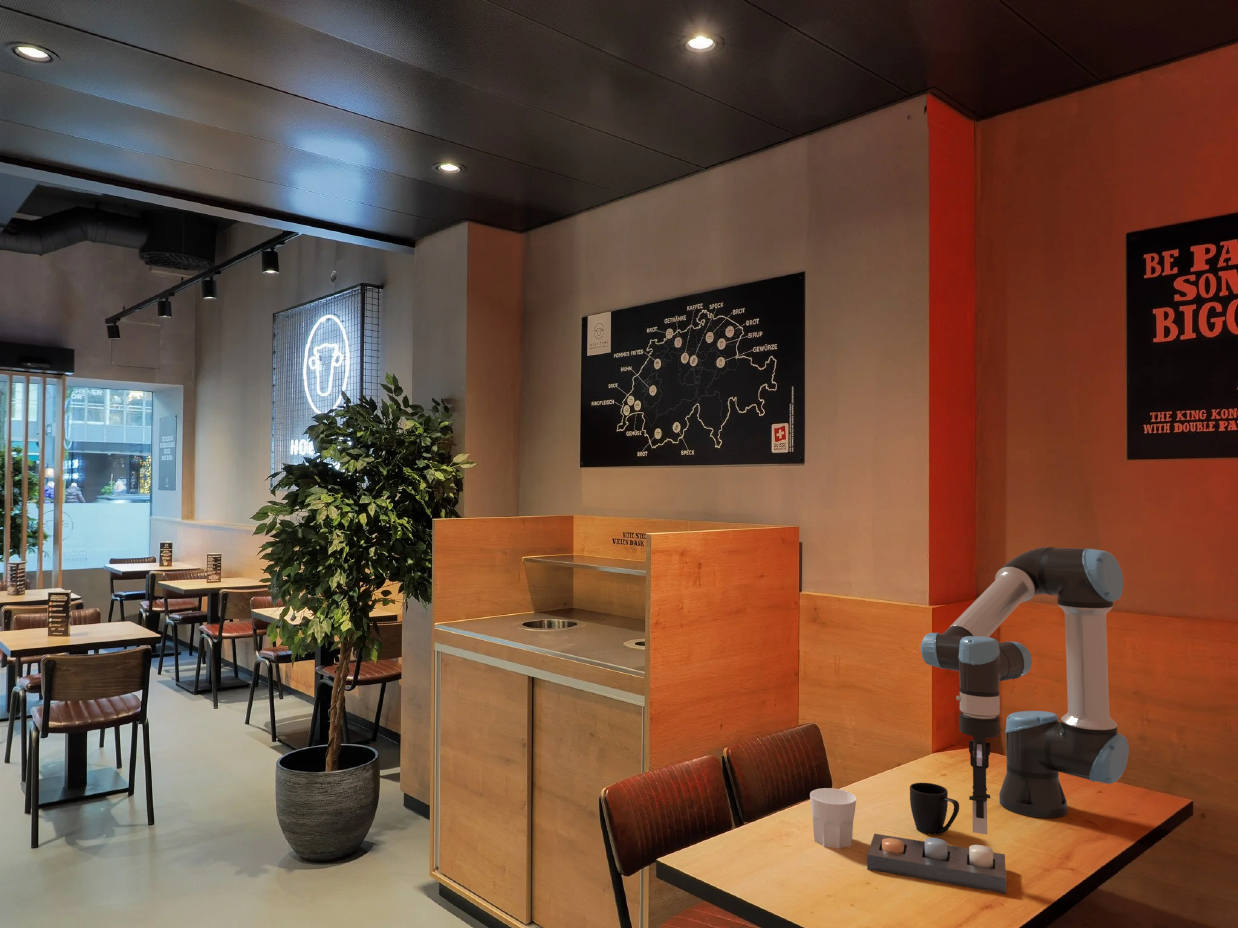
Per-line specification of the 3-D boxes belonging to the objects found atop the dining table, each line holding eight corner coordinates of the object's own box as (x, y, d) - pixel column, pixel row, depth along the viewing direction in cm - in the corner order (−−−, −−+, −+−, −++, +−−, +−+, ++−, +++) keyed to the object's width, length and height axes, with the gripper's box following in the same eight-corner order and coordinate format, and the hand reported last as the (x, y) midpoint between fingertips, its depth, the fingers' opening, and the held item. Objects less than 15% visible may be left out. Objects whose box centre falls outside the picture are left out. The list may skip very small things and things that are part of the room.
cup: (857, 835, 190) (857, 791, 191) (855, 852, 181) (854, 806, 181) (812, 829, 194) (812, 786, 194) (807, 846, 184) (807, 800, 185)
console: (1005, 868, 173) (1004, 853, 173) (1006, 893, 162) (1006, 877, 163) (874, 847, 184) (874, 833, 184) (867, 869, 173) (867, 854, 173)
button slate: (948, 857, 174) (947, 839, 174) (947, 865, 170) (946, 847, 170) (925, 853, 176) (925, 836, 176) (924, 861, 172) (923, 844, 172)
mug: (944, 845, 185) (943, 802, 185) (902, 826, 195) (902, 785, 196) (969, 838, 189) (969, 795, 189) (927, 820, 199) (926, 780, 200)
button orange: (904, 857, 178) (904, 839, 178) (903, 865, 174) (902, 847, 174) (883, 853, 179) (883, 836, 180) (880, 861, 175) (880, 844, 176)
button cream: (993, 864, 171) (992, 846, 171) (993, 873, 167) (993, 855, 167) (969, 860, 173) (969, 843, 173) (969, 869, 169) (969, 851, 169)
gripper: (960, 705, 178) (960, 818, 177) (958, 719, 167) (959, 840, 165) (999, 709, 175) (999, 824, 174) (999, 723, 163) (1000, 847, 162)
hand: (980, 831), depth 170 cm, fingers closed
